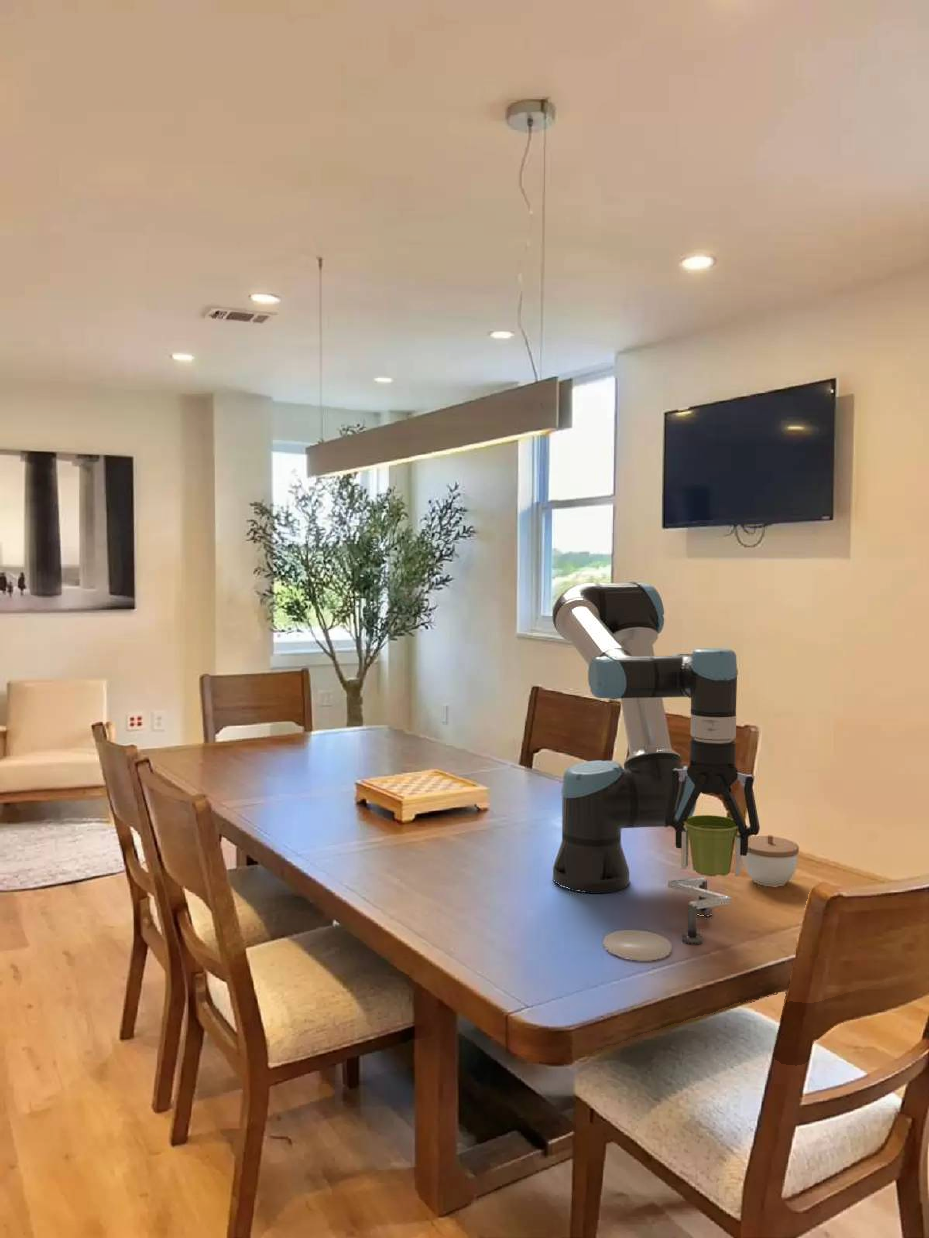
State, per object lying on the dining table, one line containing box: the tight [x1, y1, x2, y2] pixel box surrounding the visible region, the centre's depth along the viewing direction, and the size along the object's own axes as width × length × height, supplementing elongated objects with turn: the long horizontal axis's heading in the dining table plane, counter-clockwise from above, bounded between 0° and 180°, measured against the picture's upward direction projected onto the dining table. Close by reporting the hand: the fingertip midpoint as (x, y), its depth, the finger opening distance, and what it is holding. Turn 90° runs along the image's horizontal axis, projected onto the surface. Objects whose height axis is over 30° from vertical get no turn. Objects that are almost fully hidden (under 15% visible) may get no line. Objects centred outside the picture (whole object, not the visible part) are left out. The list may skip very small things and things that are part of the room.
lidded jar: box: [742, 834, 800, 887], centre depth 181 cm, size 11×11×9 cm
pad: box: [603, 929, 672, 962], centre depth 150 cm, size 11×11×1 cm
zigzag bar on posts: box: [667, 876, 732, 945], centre depth 158 cm, size 11×16×7 cm
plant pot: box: [684, 814, 738, 877], centre depth 156 cm, size 9×9×9 cm
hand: (711, 869), depth 156 cm, fingers closed on plant pot, 8 cm apart
